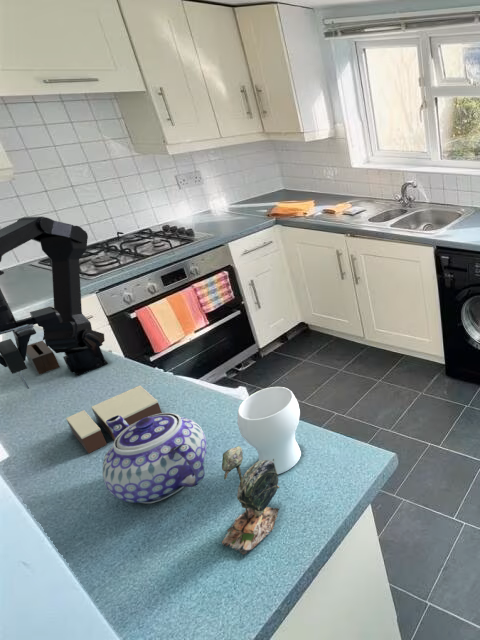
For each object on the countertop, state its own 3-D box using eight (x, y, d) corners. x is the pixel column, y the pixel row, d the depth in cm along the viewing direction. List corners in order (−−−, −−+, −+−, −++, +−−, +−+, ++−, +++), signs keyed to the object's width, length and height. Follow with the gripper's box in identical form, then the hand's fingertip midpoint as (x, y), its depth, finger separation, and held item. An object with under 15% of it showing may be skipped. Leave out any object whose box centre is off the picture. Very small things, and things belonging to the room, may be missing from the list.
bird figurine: (301, 506, 78) (281, 422, 71) (241, 563, 69) (211, 473, 62) (272, 489, 82) (250, 407, 74) (211, 541, 72) (179, 453, 65)
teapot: (246, 472, 85) (228, 414, 80) (161, 541, 72) (133, 477, 66) (171, 432, 95) (150, 377, 89) (83, 486, 82) (53, 426, 76)
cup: (319, 451, 90) (307, 395, 85) (272, 490, 81) (256, 430, 76) (287, 433, 95) (274, 378, 89) (239, 468, 86) (222, 409, 81)
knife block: (49, 355, 121) (42, 340, 119) (60, 367, 116) (53, 351, 114) (29, 362, 118) (21, 347, 116) (39, 374, 113) (31, 359, 111)
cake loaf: (145, 399, 104) (140, 385, 103) (163, 416, 99) (157, 400, 98) (98, 422, 97) (91, 406, 95) (114, 440, 92) (107, 424, 91)
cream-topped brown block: (91, 425, 96) (84, 409, 95) (107, 444, 91) (99, 428, 90) (73, 433, 94) (65, 418, 92) (88, 453, 89) (80, 437, 87)
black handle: (28, 374, 101) (10, 338, 97) (36, 386, 97) (18, 349, 93) (13, 379, 99) (-5, 343, 95) (21, 392, 95) (2, 355, 91)
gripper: (37, 278, 102) (62, 334, 107) (-92, 309, 87) (-56, 371, 93) (50, 290, 96) (75, 348, 102) (-86, 325, 81) (-48, 390, 87)
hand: (15, 363), depth 96 cm, fingers closed on black handle, 2 cm apart
